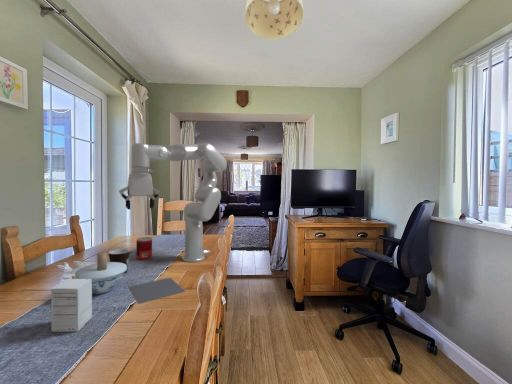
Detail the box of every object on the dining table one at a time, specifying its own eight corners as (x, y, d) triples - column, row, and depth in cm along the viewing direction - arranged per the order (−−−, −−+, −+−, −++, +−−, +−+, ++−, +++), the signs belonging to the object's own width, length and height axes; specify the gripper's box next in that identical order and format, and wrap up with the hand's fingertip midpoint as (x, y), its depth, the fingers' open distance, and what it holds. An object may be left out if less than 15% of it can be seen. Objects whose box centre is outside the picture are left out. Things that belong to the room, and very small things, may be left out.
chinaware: (90, 304, 87) (90, 282, 86) (71, 293, 95) (71, 273, 94) (132, 289, 99) (132, 270, 99) (111, 280, 107) (111, 262, 107)
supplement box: (67, 318, 78) (67, 278, 77) (92, 318, 78) (92, 278, 78) (50, 332, 70) (50, 288, 70) (78, 332, 71) (78, 288, 70)
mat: (170, 279, 111) (170, 277, 111) (185, 292, 97) (185, 291, 97) (127, 288, 100) (128, 286, 100) (138, 305, 87) (138, 303, 87)
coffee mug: (120, 277, 111) (120, 254, 111) (104, 275, 113) (104, 253, 113) (137, 268, 123) (138, 248, 123) (122, 266, 125) (122, 246, 124)
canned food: (154, 257, 142) (155, 237, 141) (144, 261, 134) (144, 240, 134) (144, 255, 144) (144, 236, 144) (133, 259, 137) (133, 239, 136)
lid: (123, 262, 108) (123, 246, 108) (130, 274, 95) (130, 256, 94) (74, 269, 98) (74, 251, 98) (75, 284, 85) (75, 263, 84)
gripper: (157, 172, 122) (157, 207, 123) (117, 170, 111) (117, 208, 112) (162, 171, 116) (162, 208, 117) (120, 169, 105) (120, 210, 106)
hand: (140, 208), depth 114 cm, fingers open, 9 cm apart
